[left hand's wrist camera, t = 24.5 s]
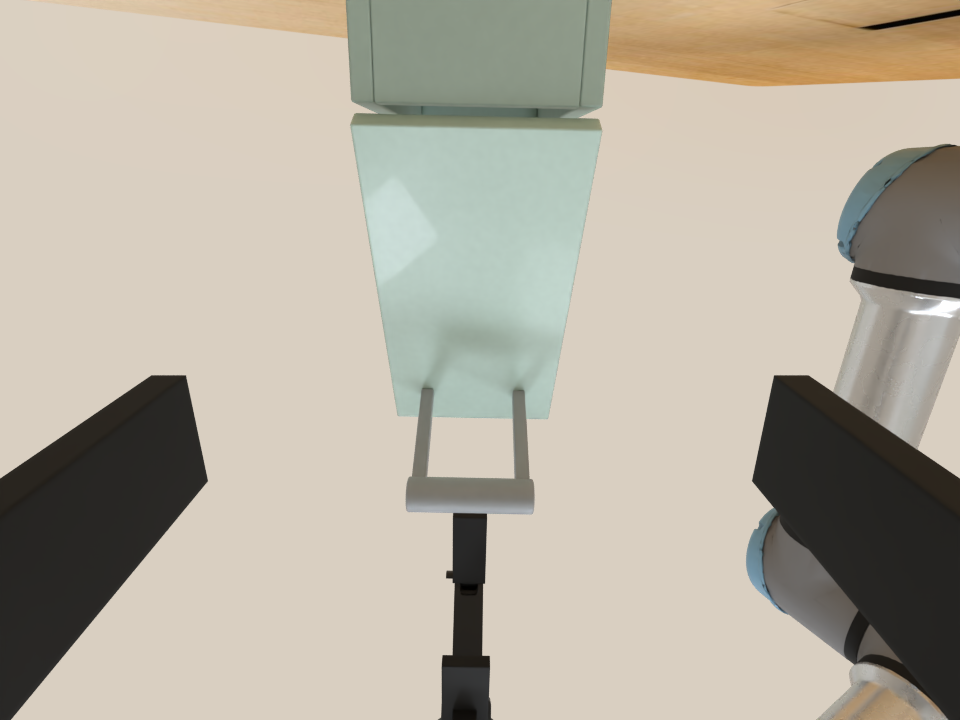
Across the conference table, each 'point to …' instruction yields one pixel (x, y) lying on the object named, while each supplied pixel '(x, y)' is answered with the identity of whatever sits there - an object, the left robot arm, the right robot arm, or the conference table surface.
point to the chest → (478, 56)
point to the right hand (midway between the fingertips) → (468, 575)
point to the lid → (474, 274)
